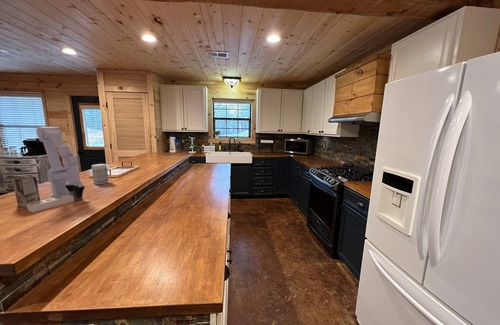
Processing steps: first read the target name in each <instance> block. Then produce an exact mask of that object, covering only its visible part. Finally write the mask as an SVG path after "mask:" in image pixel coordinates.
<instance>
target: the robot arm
mask: <svg viewBox="0 0 500 325" xmlns="http://www.w3.org/2000/svg"><path fill="white" fill-rule="evenodd" d="M36 134H37V139H38V140H39V142H41V143H43V146H44V150H45V152H46V155H47V158H48V161H49V164H50V165H49V166H50V168H49V169H48V170H47V172H46V176H47V181H48V182H49V183H50V184H51V185H50V189H51V194H50V197H52V198H54V197H59V196H63V195H67V194H69V191H75V193H76V196H77V198H81V197H82V198H83V193H84V190H85V187H86V186H85V185H84V184H83V182H82V181H81V176H80V170H79V164H80V161H81V160H80V157H79V155H77V154H76V153H74V152H73V150H72V149H71V147H69V145H66V144H65V142H64V140H63V138H62V129H61V127H59V126H38V127H37V128H36ZM59 155H60V156H59ZM60 157H61V159H62V162H61V160H60ZM62 164H63V165H62Z"/></svg>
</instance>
